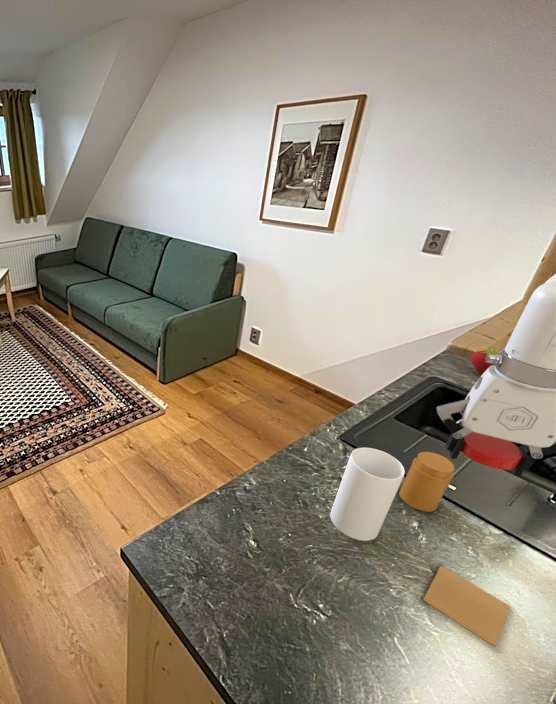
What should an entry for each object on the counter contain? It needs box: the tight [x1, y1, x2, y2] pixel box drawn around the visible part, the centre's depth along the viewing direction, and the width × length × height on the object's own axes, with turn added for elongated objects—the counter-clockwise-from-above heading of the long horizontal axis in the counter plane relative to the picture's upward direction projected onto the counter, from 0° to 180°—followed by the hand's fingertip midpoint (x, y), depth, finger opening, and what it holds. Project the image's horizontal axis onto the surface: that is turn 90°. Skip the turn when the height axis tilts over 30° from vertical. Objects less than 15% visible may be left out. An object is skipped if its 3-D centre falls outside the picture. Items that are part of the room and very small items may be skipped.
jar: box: [398, 451, 456, 513], centre depth 81 cm, size 6×6×11 cm
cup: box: [329, 447, 406, 542], centre depth 76 cm, size 8×8×16 cm
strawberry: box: [470, 346, 500, 376], centre depth 120 cm, size 6×8×10 cm
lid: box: [460, 432, 522, 470], centre depth 64 cm, size 7×7×2 cm
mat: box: [422, 565, 511, 648], centre depth 65 cm, size 9×9×1 cm
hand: (482, 461), depth 65 cm, fingers closed on lid, 7 cm apart
